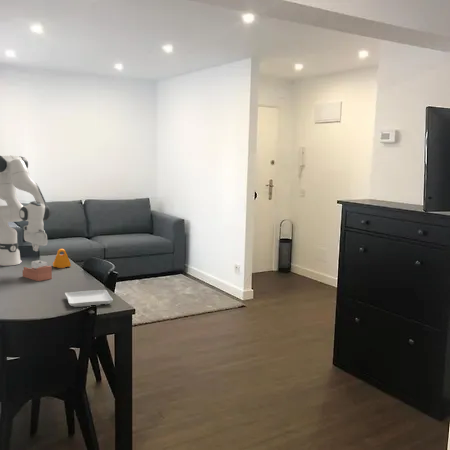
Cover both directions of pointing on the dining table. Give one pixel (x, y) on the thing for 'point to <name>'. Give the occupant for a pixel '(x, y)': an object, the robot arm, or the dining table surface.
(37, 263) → the block with knob
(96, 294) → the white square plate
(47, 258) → the dining table surface
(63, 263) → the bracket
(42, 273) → the pink boxy piece
